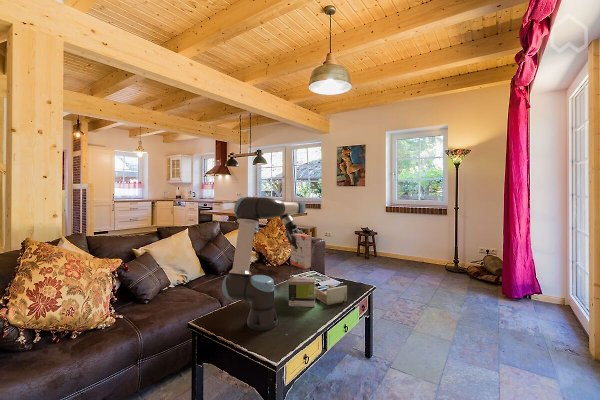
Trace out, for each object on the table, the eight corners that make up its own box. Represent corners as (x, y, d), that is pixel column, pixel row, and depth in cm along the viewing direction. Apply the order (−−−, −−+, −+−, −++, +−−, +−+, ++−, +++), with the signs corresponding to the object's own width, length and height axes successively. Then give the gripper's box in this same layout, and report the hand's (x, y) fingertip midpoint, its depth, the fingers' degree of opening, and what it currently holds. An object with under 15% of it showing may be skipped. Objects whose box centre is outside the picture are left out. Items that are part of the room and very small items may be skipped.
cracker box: (290, 264, 196) (290, 233, 195) (296, 263, 200) (297, 232, 199) (304, 269, 185) (304, 236, 185) (311, 267, 189) (311, 235, 189)
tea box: (315, 301, 178) (315, 276, 177) (314, 307, 168) (314, 282, 167) (290, 299, 179) (290, 275, 178) (288, 306, 169) (288, 281, 168)
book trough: (327, 305, 171) (327, 289, 171) (312, 295, 186) (312, 281, 186) (346, 300, 178) (347, 286, 178) (330, 292, 193) (330, 278, 193)
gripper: (297, 226, 210) (312, 253, 198) (275, 228, 198) (290, 257, 186) (302, 219, 205) (318, 246, 193) (280, 221, 194) (295, 250, 181)
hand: (304, 251), depth 190 cm, fingers closed on cracker box, 6 cm apart
